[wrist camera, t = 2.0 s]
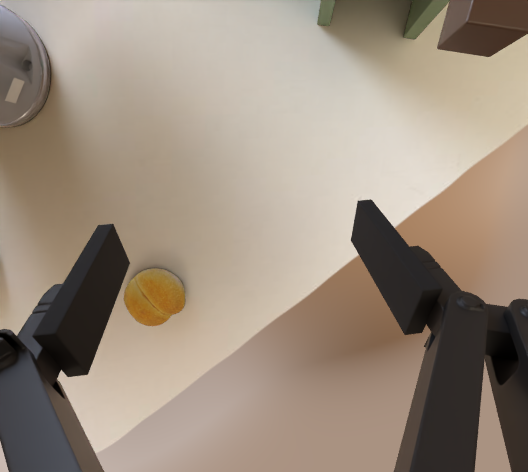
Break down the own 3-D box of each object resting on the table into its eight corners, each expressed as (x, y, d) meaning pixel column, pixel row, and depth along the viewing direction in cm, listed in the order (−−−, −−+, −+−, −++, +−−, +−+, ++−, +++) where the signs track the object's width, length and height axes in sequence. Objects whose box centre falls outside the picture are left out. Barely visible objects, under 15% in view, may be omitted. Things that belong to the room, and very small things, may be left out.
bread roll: (197, 297, 45) (188, 309, 41) (154, 327, 46) (142, 341, 43) (163, 254, 44) (150, 262, 40) (121, 286, 46) (105, 297, 42)
